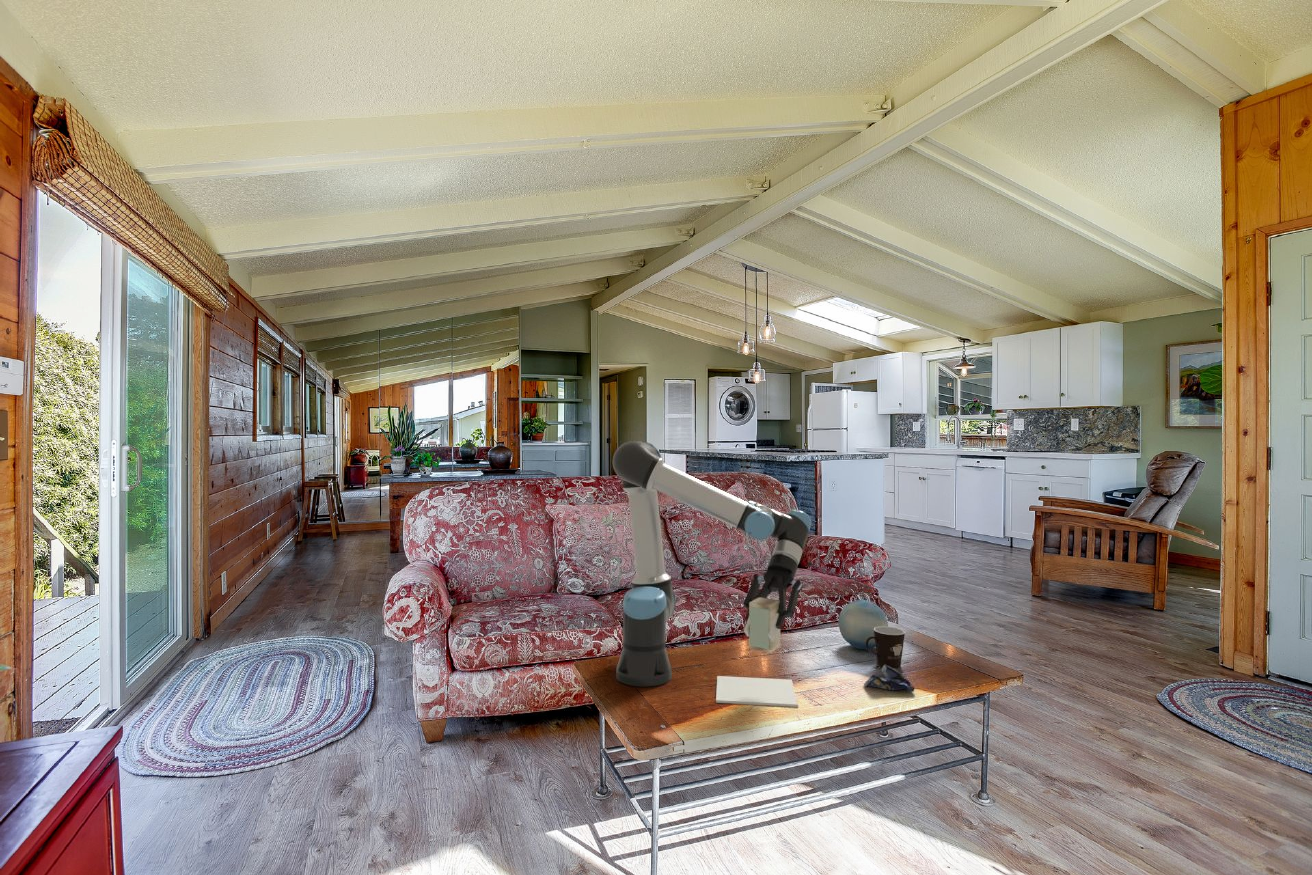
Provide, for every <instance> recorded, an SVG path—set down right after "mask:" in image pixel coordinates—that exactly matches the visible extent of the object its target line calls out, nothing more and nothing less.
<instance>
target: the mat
mask: <svg viewBox="0 0 1312 875" xmlns="http://www.w3.org/2000/svg"><path fill="white" fill-rule="evenodd" d="M715 703H717V704H718V703H721V704H732V705H733V704H736V705H751V706H752V705H753V706H770V707H771V706H772V707H789V708H790V707H791V708H798V707H799V702H798V699H797V695H796V691H795V688H794V683H793V679H786V678H785V679H784V678H766V677H765V678H764V677H763V678H762V677H747V676H746V677H744V676H723V675H722V676H721V675H717V677H716V695H715Z"/></svg>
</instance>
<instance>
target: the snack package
mask: <svg viewBox="0 0 1312 875" xmlns="http://www.w3.org/2000/svg"><path fill="white" fill-rule="evenodd" d="M881 673H883V675H884V677H883V678H881V677H879V676H877V675H876V674H872V675H870V677H869V678H868V679H867V680H866V681H865V682H864V683H863V686H864V687H865V688H867V687H872V688H873V687H874V688H878V689H884V690H888V691H899V690H908V691H910V692H914V691H915V690H916V688H915V686H914V685H913V684H911V682H910V680H908V679H906V678H905V677H904V676H903V674H902V673H901V672H900V671H899V670H897V669H894V668H891V667H890V666H887V665H886V664H885V665H884V666H883V667H881ZM885 676H886V677H885Z"/></svg>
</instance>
